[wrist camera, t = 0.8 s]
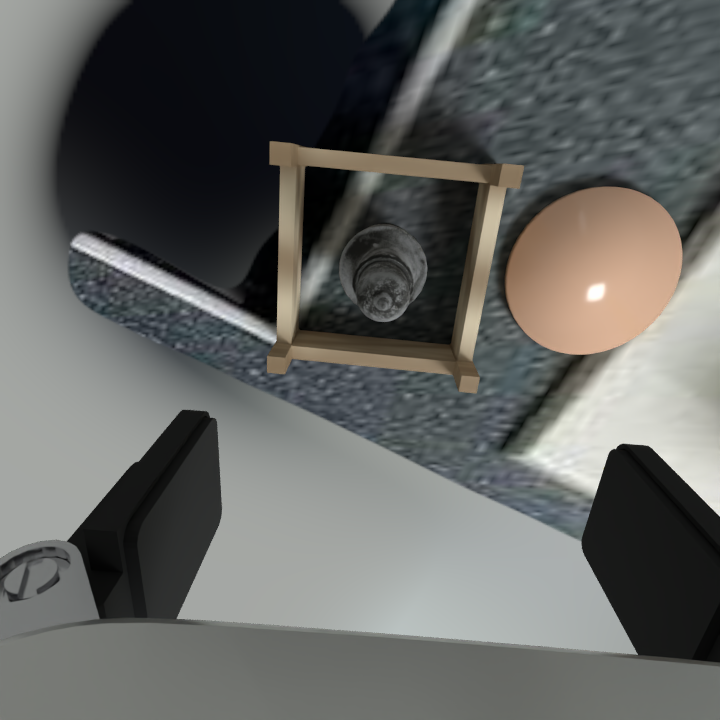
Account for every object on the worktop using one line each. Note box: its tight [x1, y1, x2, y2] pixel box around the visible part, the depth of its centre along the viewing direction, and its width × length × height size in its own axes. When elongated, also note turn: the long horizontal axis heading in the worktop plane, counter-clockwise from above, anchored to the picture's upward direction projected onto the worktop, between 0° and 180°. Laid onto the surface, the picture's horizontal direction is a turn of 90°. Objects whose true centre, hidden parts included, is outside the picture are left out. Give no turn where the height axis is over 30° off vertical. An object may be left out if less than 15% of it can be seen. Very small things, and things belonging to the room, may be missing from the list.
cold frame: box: [267, 141, 524, 393], centre depth 31 cm, size 14×14×6 cm
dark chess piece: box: [339, 224, 427, 322], centre depth 28 cm, size 6×6×12 cm
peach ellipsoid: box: [505, 186, 682, 355], centre depth 33 cm, size 12×12×1 cm
